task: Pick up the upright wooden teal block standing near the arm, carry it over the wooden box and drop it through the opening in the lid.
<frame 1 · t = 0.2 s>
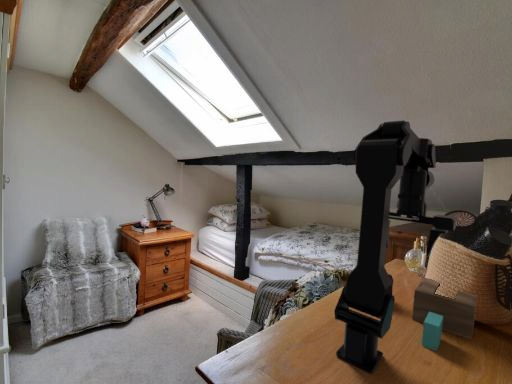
hand: (406, 251, 69), 14 cm above the table, fingers open, 9 cm apart
wooden box: (443, 319, 64), on the table
supplement bottle: (367, 295, 76), on the table
teal block: (431, 342, 55), on the table
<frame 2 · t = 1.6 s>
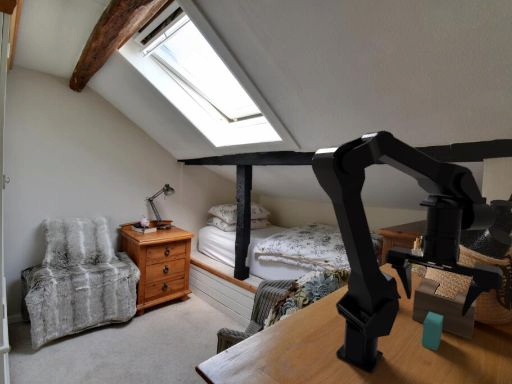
hand: (434, 306, 55), 7 cm above the table, fingers open, 9 cm apart
nothing on the table moved.
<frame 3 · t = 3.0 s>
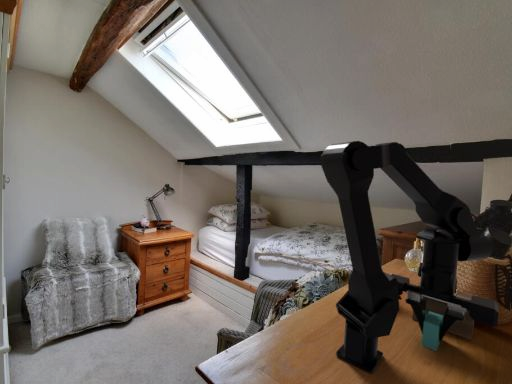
hand: (432, 337, 55), 1 cm above the table, fingers closed on teal block, 2 cm apart
teal block: (431, 341, 55), on the table, touching gripper
everything else where it was.
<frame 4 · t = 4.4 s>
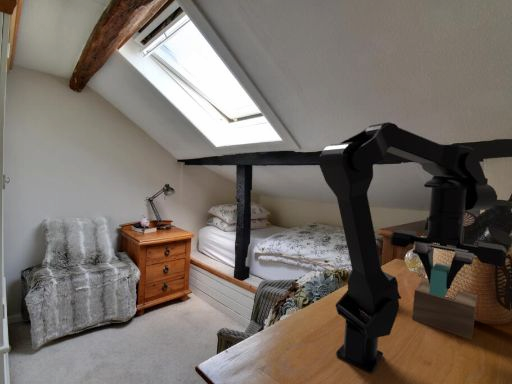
hand: (439, 286, 56), 11 cm above the table, fingers closed on teal block, 2 cm apart
teal block: (438, 291, 56), point 10 cm above the table, touching gripper
everything else where it was.
when the fingers open (9 cm above the table, at t = 5.5 s): teal block drops 8 cm, resting on wooden box.
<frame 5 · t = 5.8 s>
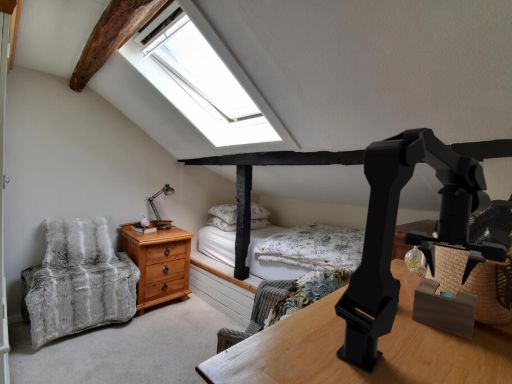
hand: (447, 280, 64), 9 cm above the table, fingers open, 5 cm apart
teal block: (444, 316, 64), point 1 cm above the table, touching wooden box
everything else where it was.
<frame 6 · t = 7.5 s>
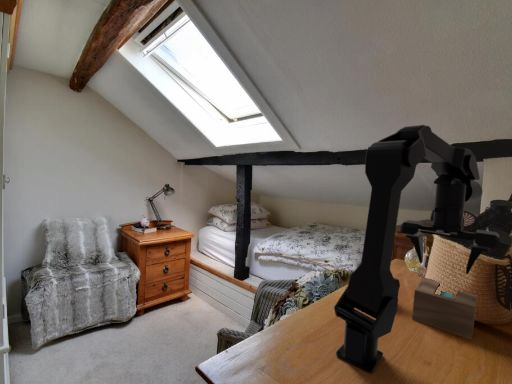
hand: (443, 267, 66), 12 cm above the table, fingers open, 9 cm apart
nothing on the table moved.
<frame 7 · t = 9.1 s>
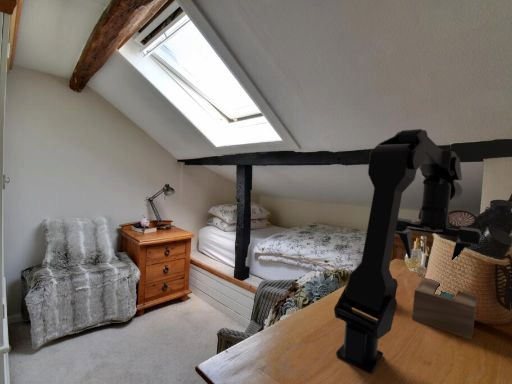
hand: (429, 262, 70), 11 cm above the table, fingers open, 9 cm apart
nothing on the table moved.
at the end: teal block inside the target area on the wooden box (0.1 cm from its centre), point 0.6 cm above the wooden box's base; the gripper is holding nothing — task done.
